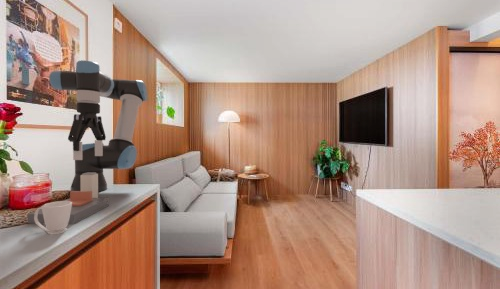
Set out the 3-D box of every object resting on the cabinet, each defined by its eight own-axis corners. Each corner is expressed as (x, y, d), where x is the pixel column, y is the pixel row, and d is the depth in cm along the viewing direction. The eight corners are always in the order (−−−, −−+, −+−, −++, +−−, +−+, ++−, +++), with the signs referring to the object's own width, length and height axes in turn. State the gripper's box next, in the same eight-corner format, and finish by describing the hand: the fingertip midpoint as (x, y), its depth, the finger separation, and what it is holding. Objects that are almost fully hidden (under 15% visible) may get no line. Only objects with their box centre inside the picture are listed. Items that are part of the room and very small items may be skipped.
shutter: (73, 200, 92) (73, 190, 92) (92, 200, 92) (92, 191, 92) (58, 205, 85) (58, 195, 84) (80, 206, 85) (80, 195, 85)
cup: (59, 237, 67) (59, 207, 67) (23, 235, 67) (23, 206, 67) (78, 227, 74) (78, 200, 74) (45, 226, 74) (45, 200, 74)
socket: (71, 205, 96) (71, 197, 96) (108, 205, 97) (108, 197, 97) (27, 223, 76) (27, 213, 76) (73, 223, 77) (73, 214, 77)
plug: (87, 198, 105) (87, 172, 105) (98, 199, 106) (98, 172, 105) (80, 201, 101) (80, 173, 100) (91, 201, 101) (91, 174, 101)
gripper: (96, 105, 106) (97, 154, 108) (54, 98, 82) (55, 161, 83) (114, 106, 107) (114, 154, 108) (77, 99, 82) (78, 162, 83)
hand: (89, 157), depth 95 cm, fingers open, 13 cm apart
